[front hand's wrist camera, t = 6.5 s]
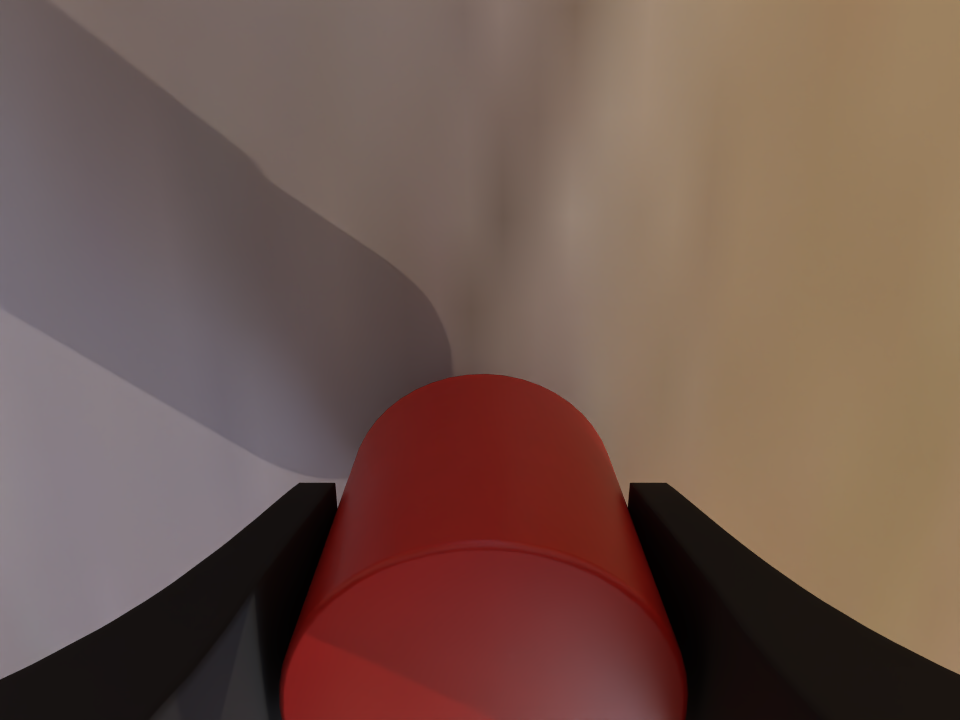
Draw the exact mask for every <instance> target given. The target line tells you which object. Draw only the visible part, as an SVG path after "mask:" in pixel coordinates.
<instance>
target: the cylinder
mask: <svg viewBox="0 0 960 720" xmlns="http://www.w3.org/2000/svg"><path fill="white" fill-rule="evenodd" d="M687 702H688V684H687V672H686V669H685V665H684V661H683V657H682V653H681V650H680V648H679V645H678V642H677V640H676V637H675V634H674V632H673V629H672V626H671V623H670V621H669V618H668V615H667V613H666V610H665V607H664V605H663V602H662V599H661V596H660V594H659V591H658V588H657V586H656V583H655V580H654V578H653V575H652V572H651V569H650V567H649V564H648V561H647V559H646V556H645V553H644V551H643V548H642V545H641V542H640V540H639V537H638V534H637V532H636V529H635V526H634V524H633V521H632V518H631V515H630V513H629V510H628V507H627V505H626V502H625V499H624V497H623V494H622V491H621V488H620V486H619V483H618V480H617V478H616V475H615V472H614V470H613V467H612V464H611V461H610V459H609V456H608V453H607V451H606V449H605V447H604V445H603V442H602V440H601V438H600V437H599V435H598V434H597V432H596V431H595V429H594V427H593V426H592V425H591V424H590V422H589V421H588V420H587V419H586V418H585V417H584V415H583V414H582V413H581V412H580V411H578V410H577V409H576V408H575V407H574V406H573V405H572V404H570V403H569V402H568V401H566V400H565V399H563V398H562V397H560V396H559V395H557V394H556V393H554V392H552V391H550V390H548V389H546V388H544V387H542V386H540V385H537V384H534V383H531V382H528V381H525V380H523V379H518V378H513V377H508V376H503V375H491V374H475V375H463V376H457V377H451V378H447V379H443V380H440V381H436V382H433V383H430V384H428V385H426V386H423V387H421V388H419V389H416V390H415V391H413V392H411V393H410V394H408V395H406V396H405V397H403V398H401V399H400V400H399V401H397V402H396V403H395V404H393V405H392V406H391V407H390V408H388V409H387V410H386V411H385V412H384V413H383V414H382V415H381V416H380V418H379V419H378V420H377V421H376V422H375V423H374V425H373V426H372V427H371V429H370V430H369V432H368V433H367V434H366V436H365V438H364V440H363V442H362V444H361V446H360V448H359V450H358V453H357V456H356V459H355V461H354V464H353V467H352V470H351V473H350V475H349V478H348V481H347V484H346V487H345V489H344V492H343V495H342V498H341V501H340V503H339V506H338V509H337V512H336V515H335V517H334V520H333V523H332V526H331V529H330V531H329V534H328V537H327V540H326V543H325V545H324V548H323V551H322V554H321V557H320V559H319V562H318V565H317V568H316V571H315V573H314V576H313V579H312V582H311V585H310V587H309V590H308V593H307V596H306V598H305V601H304V604H303V607H302V610H301V612H300V615H299V618H298V621H297V624H296V626H295V629H294V632H293V635H292V638H291V640H290V643H289V646H288V649H287V652H286V655H285V658H284V661H283V664H282V669H281V675H280V682H279V707H280V712H281V718H282V720H685V719H686V713H687Z"/></svg>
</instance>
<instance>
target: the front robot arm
mask: <svg viewBox="0 0 960 720" xmlns="http://www.w3.org/2000/svg"><path fill="white" fill-rule="evenodd" d="M628 510H629V513H630V515H631V518H632V521H633V524H634V526H635V529H636V532H637V534H638V537H639V540H640V542H641V545H642V548H643V551H644V553H645V556H646V559H647V561H648V564H649V567H650V569H651V572H652V575H653V578H654V580H655V583H656V586H657V588H658V591H659V594H660V596H661V599H662V602H663V605H664V607H665V610H666V613H667V615H668V618H669V621H670V623H671V626H672V629H673V632H674V634H675V637H676V640H677V642H678V645H679V648H680V650H681V653H682V657H683V661H684V665H685V669H686V672H687V684H688V702H687V713H686V719H685V720H960V675H959V674H957V673H955V672H953V671H951V670H948V669H946V668H944V667H942V666H940V665H938V664H936V663H934V662H932V661H930V660H928V659H926V658H924V657H922V656H920V655H918V654H916V653H914V652H912V651H910V650H908V649H907V648H905V647H903V646H901V645H899V644H897V643H895V642H893V641H891V640H889V639H887V638H885V637H884V636H882V635H880V634H878V633H876V632H874V631H873V630H871V629H869V628H867V627H865V626H864V625H862V624H860V623H859V622H857V621H855V620H854V619H852V618H850V617H849V616H847V615H845V614H844V613H842V612H840V611H839V610H837V609H835V608H834V607H832V606H830V605H829V604H827V603H825V602H824V601H822V600H820V599H819V598H817V597H816V596H814V595H813V594H811V593H810V592H808V591H806V590H805V589H803V588H802V587H800V586H799V585H798V584H796V583H795V582H793V581H792V580H791V579H789V578H788V577H786V576H785V575H783V574H782V573H781V572H779V571H778V570H776V569H775V568H773V567H772V566H771V565H769V564H768V563H766V562H765V561H764V560H762V559H761V558H760V557H758V556H757V555H756V554H754V553H753V552H752V551H750V550H749V549H748V548H747V547H745V546H744V545H743V544H741V543H740V542H739V541H738V540H736V539H735V538H734V537H732V536H731V535H730V534H729V533H727V532H726V531H725V530H724V529H723V528H721V527H720V526H719V525H718V524H716V523H715V522H714V521H713V520H711V519H710V518H709V517H708V516H707V515H705V514H704V513H703V512H702V511H701V510H699V509H698V508H697V507H696V506H695V505H693V504H692V503H691V502H690V501H689V500H687V499H686V498H685V497H684V496H683V495H681V494H680V493H679V492H678V491H676V490H675V489H674V488H673V487H671V486H670V485H668V484H667V483H630V489H629V500H628ZM336 512H337V499H336V487H335V483H298V484H297V485H296V486H294V487H293V488H292V489H291V490H289V491H288V492H287V493H286V494H285V495H283V496H282V497H281V498H280V499H279V500H277V501H276V502H275V503H274V504H273V505H272V506H270V507H269V508H268V509H267V510H266V511H265V512H263V513H262V514H261V515H260V516H259V517H257V518H256V519H255V520H254V521H253V522H251V523H250V524H249V525H248V526H246V527H245V528H244V529H243V530H242V531H240V532H239V533H238V534H237V535H235V536H234V537H233V538H232V539H231V540H229V541H228V542H227V543H226V544H224V545H223V546H222V547H221V548H219V549H218V550H217V551H215V552H214V553H213V554H211V555H210V556H208V557H207V558H206V559H204V560H203V561H202V562H200V563H199V564H198V565H196V566H195V567H194V568H192V569H191V570H190V571H188V572H187V573H186V574H184V575H183V576H181V577H180V578H179V579H177V580H176V581H175V582H173V583H172V584H170V585H169V586H167V587H166V588H165V589H163V590H162V591H160V592H159V593H157V594H155V595H154V596H152V597H151V598H149V599H148V600H146V601H145V602H143V603H142V604H140V605H138V606H137V607H135V608H133V609H132V610H130V611H129V612H127V613H125V614H124V615H122V616H120V617H119V618H117V619H115V620H114V621H112V622H110V623H109V624H107V625H105V626H104V627H102V628H100V629H98V630H96V631H94V632H93V633H91V634H89V635H87V636H85V637H83V638H81V639H79V640H78V641H76V642H74V643H72V644H70V645H68V646H66V647H64V648H62V649H61V650H59V651H57V652H55V653H53V654H51V655H49V656H47V657H45V658H44V659H42V660H40V661H38V662H36V663H34V664H32V665H30V666H28V667H26V668H24V669H22V670H20V671H18V672H15V673H13V674H11V675H9V676H7V677H5V678H3V679H0V720H282V718H281V712H280V707H279V682H280V675H281V669H282V664H283V661H284V658H285V655H286V652H287V649H288V646H289V643H290V640H291V638H292V635H293V632H294V629H295V626H296V624H297V621H298V618H299V615H300V612H301V610H302V607H303V604H304V601H305V598H306V596H307V593H308V590H309V587H310V585H311V582H312V579H313V576H314V573H315V571H316V568H317V565H318V562H319V559H320V557H321V554H322V551H323V548H324V545H325V543H326V540H327V537H328V534H329V531H330V529H331V526H332V523H333V520H334V517H335V515H336Z"/></svg>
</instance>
